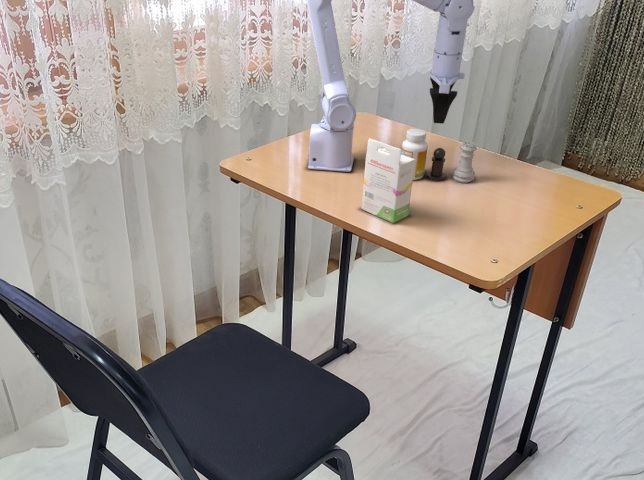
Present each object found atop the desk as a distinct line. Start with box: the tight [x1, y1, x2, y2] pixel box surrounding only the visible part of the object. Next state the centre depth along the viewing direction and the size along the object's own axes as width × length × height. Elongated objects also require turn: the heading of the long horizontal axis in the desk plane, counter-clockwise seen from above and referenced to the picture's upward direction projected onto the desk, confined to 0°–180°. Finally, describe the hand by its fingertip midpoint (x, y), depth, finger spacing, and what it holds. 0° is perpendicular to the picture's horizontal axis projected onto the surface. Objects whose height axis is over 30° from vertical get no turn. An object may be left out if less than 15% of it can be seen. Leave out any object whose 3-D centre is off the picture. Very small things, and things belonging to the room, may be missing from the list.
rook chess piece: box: [452, 140, 477, 184], centre depth 155 cm, size 4×4×8 cm
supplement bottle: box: [401, 128, 429, 181], centre depth 156 cm, size 5×5×10 cm
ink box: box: [361, 137, 415, 224], centre depth 141 cm, size 9×5×15 cm, turn 42°
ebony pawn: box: [426, 147, 446, 182], centre depth 157 cm, size 4×4×7 cm
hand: (438, 116), depth 160 cm, fingers open, 7 cm apart
